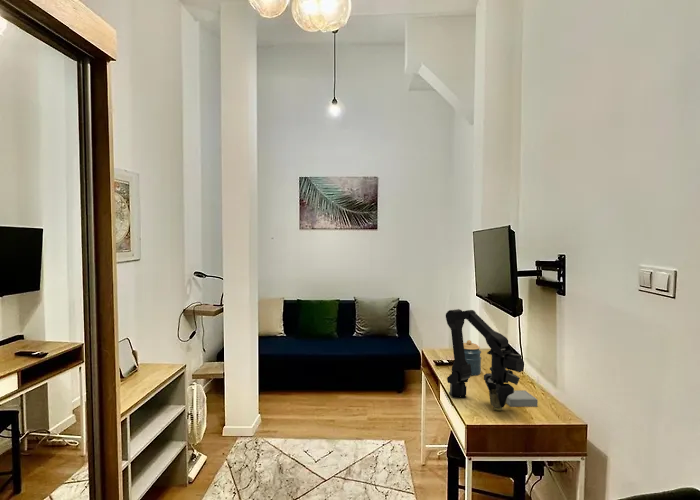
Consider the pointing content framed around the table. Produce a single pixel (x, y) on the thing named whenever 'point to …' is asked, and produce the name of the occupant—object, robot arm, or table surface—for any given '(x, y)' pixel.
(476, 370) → the canister
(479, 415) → the table surface
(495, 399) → the cup
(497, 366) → the robot arm
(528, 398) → the slate base
